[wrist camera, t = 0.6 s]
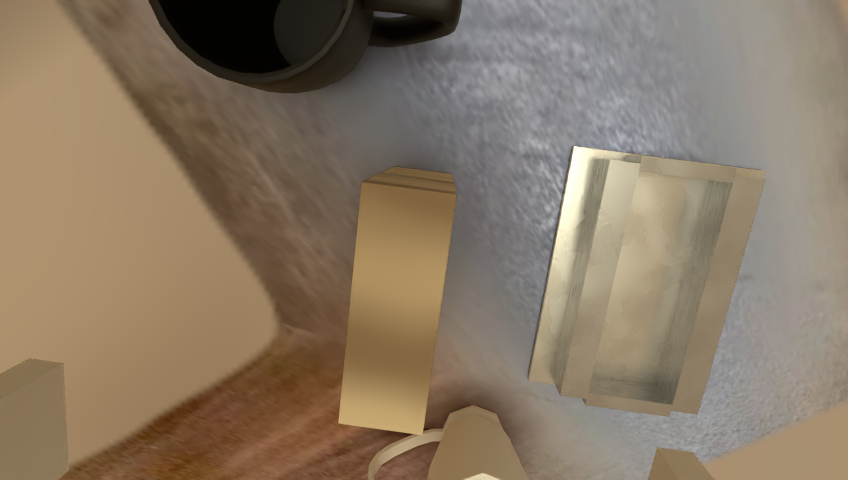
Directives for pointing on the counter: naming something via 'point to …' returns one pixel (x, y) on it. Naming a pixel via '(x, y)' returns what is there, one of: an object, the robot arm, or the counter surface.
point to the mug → (296, 36)
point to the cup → (463, 449)
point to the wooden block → (396, 298)
